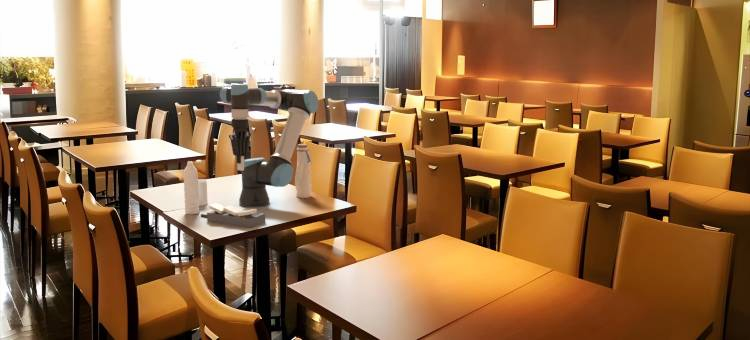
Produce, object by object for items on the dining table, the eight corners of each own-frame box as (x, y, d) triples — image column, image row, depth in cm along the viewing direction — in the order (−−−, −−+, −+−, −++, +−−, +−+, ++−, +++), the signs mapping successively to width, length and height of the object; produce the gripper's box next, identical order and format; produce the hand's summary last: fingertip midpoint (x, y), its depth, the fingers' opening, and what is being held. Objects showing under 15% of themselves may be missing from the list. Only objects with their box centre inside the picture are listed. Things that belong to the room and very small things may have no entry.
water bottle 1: (188, 215, 287) (185, 163, 283) (183, 212, 292) (180, 161, 288) (206, 212, 293) (203, 161, 288) (200, 209, 298) (198, 159, 293)
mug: (181, 206, 304) (180, 182, 302) (198, 201, 315) (197, 178, 312) (194, 208, 301) (193, 184, 298) (210, 203, 311) (210, 180, 309)
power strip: (209, 213, 291) (208, 203, 290) (265, 222, 277) (264, 211, 276) (192, 219, 281) (192, 208, 280) (250, 228, 267) (249, 217, 266)
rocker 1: (216, 205, 281) (217, 203, 281) (228, 211, 279) (228, 208, 278) (209, 208, 277) (209, 205, 276) (221, 213, 274) (221, 211, 274)
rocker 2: (230, 207, 278) (230, 205, 277) (242, 213, 275) (243, 210, 275) (223, 210, 273) (223, 207, 273) (235, 216, 271) (235, 213, 270)
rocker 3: (245, 213, 274) (244, 210, 274) (257, 211, 271) (256, 208, 271) (237, 216, 270) (237, 213, 270) (250, 214, 267) (249, 211, 267)
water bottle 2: (317, 196, 328) (316, 144, 323) (306, 199, 321) (305, 146, 316) (302, 193, 334) (301, 142, 328) (291, 196, 326) (290, 144, 321)
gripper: (242, 117, 283) (243, 167, 286) (223, 118, 271) (224, 171, 275) (255, 118, 279) (256, 169, 283) (237, 119, 268) (238, 172, 272)
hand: (240, 170), depth 279 cm, fingers closed
